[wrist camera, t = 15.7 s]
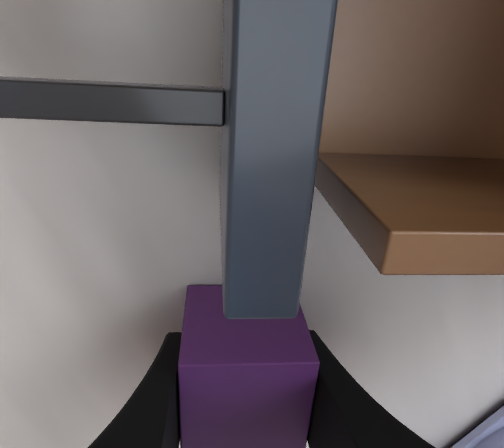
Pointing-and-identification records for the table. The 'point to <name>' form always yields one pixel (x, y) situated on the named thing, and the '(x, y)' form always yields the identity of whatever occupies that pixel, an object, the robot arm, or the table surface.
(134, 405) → the robot arm
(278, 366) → the block
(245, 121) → the drawer
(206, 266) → the table surface
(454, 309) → the table surface
